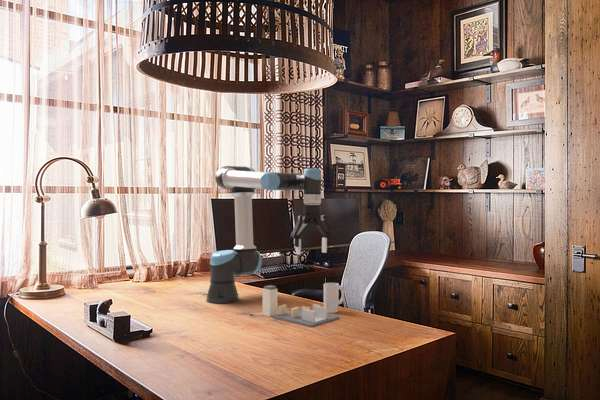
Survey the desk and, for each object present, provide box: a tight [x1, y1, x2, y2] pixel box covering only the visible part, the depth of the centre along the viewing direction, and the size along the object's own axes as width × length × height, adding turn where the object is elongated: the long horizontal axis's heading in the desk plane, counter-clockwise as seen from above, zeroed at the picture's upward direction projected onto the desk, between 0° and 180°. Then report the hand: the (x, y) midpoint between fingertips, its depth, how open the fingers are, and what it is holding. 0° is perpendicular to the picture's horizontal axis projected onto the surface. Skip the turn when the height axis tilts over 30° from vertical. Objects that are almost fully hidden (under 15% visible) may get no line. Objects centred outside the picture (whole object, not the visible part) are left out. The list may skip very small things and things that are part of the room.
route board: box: [271, 303, 340, 328], centre depth 204 cm, size 21×18×5 cm
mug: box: [323, 282, 345, 314], centre depth 217 cm, size 10×7×12 cm, turn 116°
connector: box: [261, 284, 279, 317], centre depth 210 cm, size 4×4×12 cm
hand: (311, 253), depth 213 cm, fingers open, 13 cm apart
